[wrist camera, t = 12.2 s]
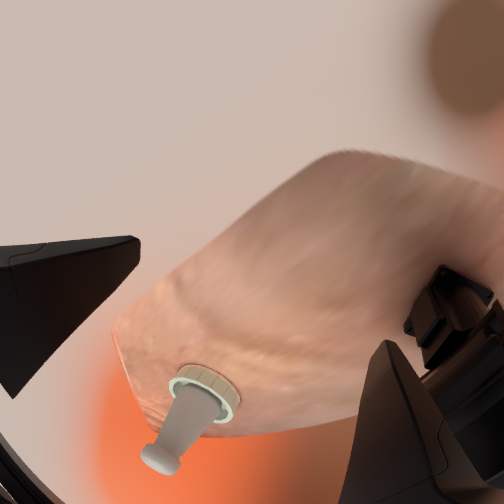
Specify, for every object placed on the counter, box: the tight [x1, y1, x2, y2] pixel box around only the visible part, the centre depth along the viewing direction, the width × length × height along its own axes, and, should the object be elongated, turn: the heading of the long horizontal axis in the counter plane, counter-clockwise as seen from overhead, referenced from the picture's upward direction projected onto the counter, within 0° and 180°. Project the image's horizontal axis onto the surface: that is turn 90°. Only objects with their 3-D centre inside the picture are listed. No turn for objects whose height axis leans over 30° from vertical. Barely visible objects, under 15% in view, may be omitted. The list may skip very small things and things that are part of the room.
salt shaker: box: [140, 382, 222, 475], centre depth 25 cm, size 6×6×13 cm
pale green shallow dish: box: [169, 364, 240, 423], centre depth 30 cm, size 9×9×2 cm
